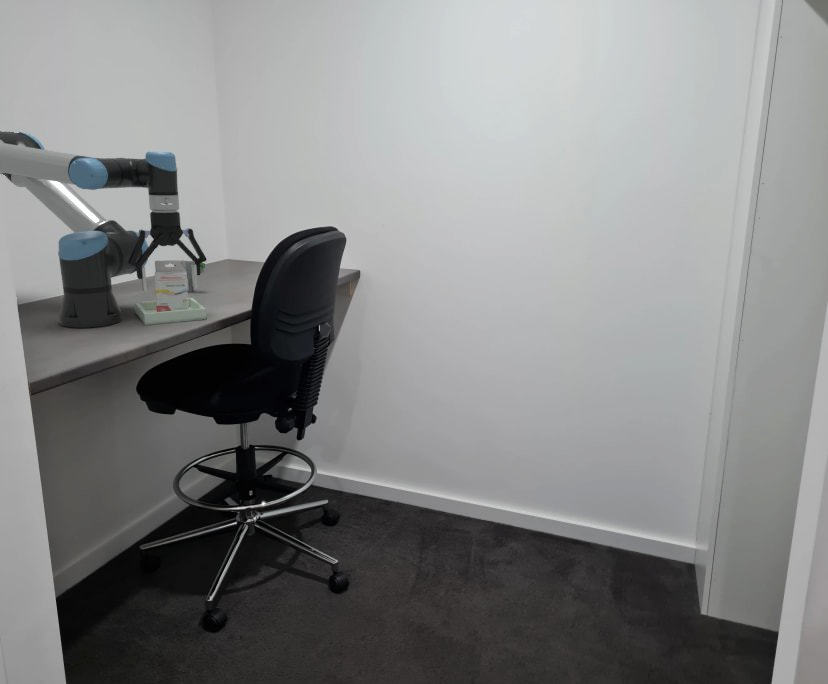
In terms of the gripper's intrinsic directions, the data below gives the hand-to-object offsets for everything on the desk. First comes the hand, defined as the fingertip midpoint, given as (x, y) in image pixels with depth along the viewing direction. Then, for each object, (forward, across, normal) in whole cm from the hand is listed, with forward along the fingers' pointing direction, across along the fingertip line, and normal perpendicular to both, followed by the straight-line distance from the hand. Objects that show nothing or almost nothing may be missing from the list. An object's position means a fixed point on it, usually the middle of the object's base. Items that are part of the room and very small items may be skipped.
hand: (170, 288), depth 186 cm
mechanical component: (+8, +12, +32) cm, 35 cm away
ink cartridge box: (+7, 0, 0) cm, 7 cm away
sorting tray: (+8, 0, 0) cm, 8 cm away
